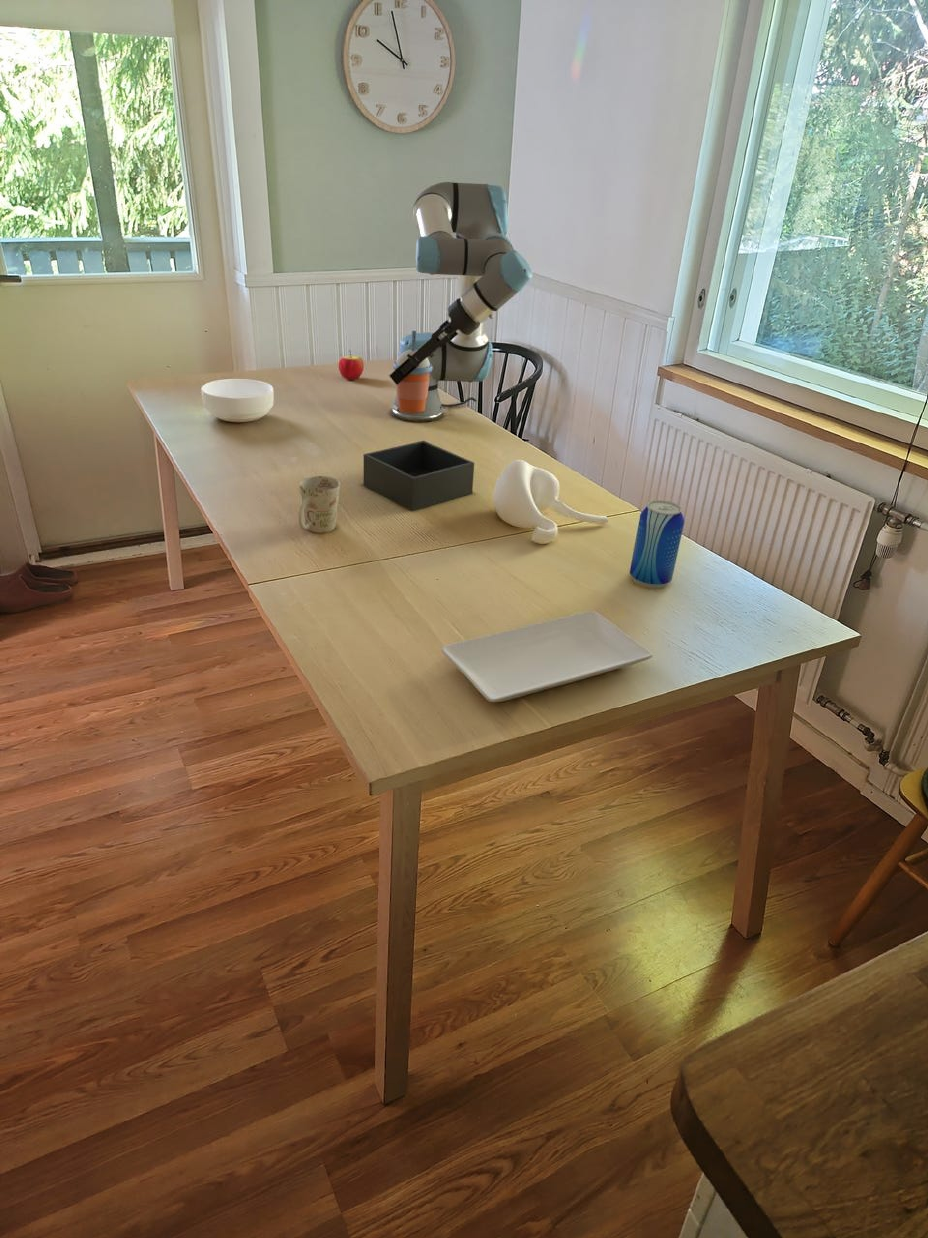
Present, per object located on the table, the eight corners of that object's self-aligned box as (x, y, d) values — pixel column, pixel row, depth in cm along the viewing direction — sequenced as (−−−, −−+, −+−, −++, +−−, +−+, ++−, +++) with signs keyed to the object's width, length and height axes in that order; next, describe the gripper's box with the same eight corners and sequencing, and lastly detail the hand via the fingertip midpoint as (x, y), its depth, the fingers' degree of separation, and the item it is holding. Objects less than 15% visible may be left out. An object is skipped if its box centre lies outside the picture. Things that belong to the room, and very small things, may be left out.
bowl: (289, 417, 243) (288, 388, 238) (239, 433, 228) (237, 402, 224) (240, 403, 251) (238, 374, 247) (188, 417, 237) (185, 387, 232)
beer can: (662, 595, 163) (678, 519, 155) (622, 582, 166) (635, 507, 158) (676, 579, 169) (692, 505, 161) (637, 567, 173) (651, 494, 165)
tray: (437, 662, 138) (438, 644, 136) (591, 624, 152) (594, 607, 150) (489, 720, 125) (491, 701, 123) (652, 672, 139) (656, 655, 137)
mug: (347, 523, 182) (346, 480, 177) (320, 546, 172) (318, 500, 167) (312, 516, 184) (311, 473, 179) (284, 538, 174) (281, 493, 169)
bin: (422, 470, 213) (423, 440, 209) (472, 493, 202) (474, 462, 198) (363, 485, 202) (363, 454, 198) (412, 510, 190) (413, 478, 186)
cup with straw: (433, 405, 202) (436, 328, 193) (428, 416, 195) (431, 336, 185) (396, 402, 203) (397, 325, 194) (389, 413, 195) (390, 333, 186)
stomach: (515, 564, 180) (606, 559, 191) (535, 516, 171) (629, 513, 182) (475, 497, 194) (562, 495, 204) (492, 449, 185) (582, 450, 196)
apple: (335, 380, 279) (335, 350, 274) (342, 374, 286) (342, 344, 281) (359, 383, 278) (359, 352, 273) (366, 377, 285) (366, 347, 280)
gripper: (471, 333, 176) (396, 399, 187) (490, 315, 195) (422, 376, 206) (447, 304, 175) (374, 372, 185) (470, 289, 193) (402, 352, 204)
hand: (399, 374), depth 195 cm, fingers closed on cup with straw, 9 cm apart
